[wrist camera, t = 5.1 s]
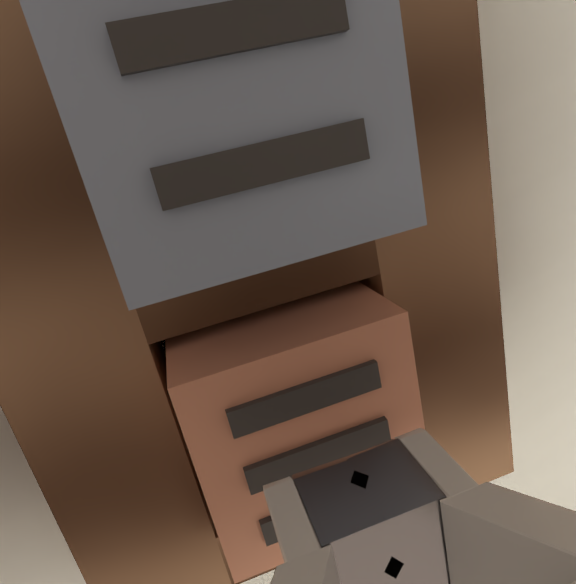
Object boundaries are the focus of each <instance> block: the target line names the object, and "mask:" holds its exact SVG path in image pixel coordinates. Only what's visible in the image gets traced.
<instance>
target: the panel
mask: <svg viewBox="0 0 576 584" xmlns="http://www.w3.org/2000/svg"><path fill="white" fill-rule="evenodd" d="M399 3H400V11H401V19H402V27H403V35H404V43H405V51H406V59H407V67H408V75H409V83H410V91H411V99H412V107H413V115H414V123H415V131H416V139H417V147H418V155H419V163H420V171H421V179H422V187H423V195H424V203H425V211H426V219H427V225H425V226H421V227H418V228H414V229H411V230H407V231H404V232H400V233H397V234H394V235H390V236H387V237H383V238H380V239H376V240H373V241H369V242H366V243H362V244H359V245H355V246H352V247H348V248H345V249H341V250H338V251H335V252H331V253H328V254H324V255H321V256H317V257H314V258H310V259H307V260H303V261H300V262H296V263H293V264H289V265H286V266H282V267H279V268H276V269H272V270H269V271H265V272H262V273H258V274H255V275H251V276H248V277H244V278H241V279H237V280H234V281H230V282H227V283H223V284H220V285H216V286H213V287H210V288H206V289H203V290H199V291H196V292H192V293H189V294H185V295H182V296H178V297H175V298H171V299H168V300H164V301H161V302H157V303H154V304H151V305H147V306H144V307H140V308H137V309H133V310H130V311H129V310H128V307H127V304H126V301H125V298H124V295H123V293H122V290H121V287H120V284H119V281H118V278H117V276H116V273H115V270H114V267H113V264H112V262H111V259H110V256H109V253H108V250H107V247H106V245H105V242H104V239H103V236H102V233H101V230H100V228H99V225H98V222H97V219H96V216H95V214H94V211H93V208H92V205H91V202H90V199H89V197H88V194H87V191H86V188H85V185H84V182H83V180H82V177H81V174H80V171H79V168H78V166H77V163H76V160H75V157H74V154H73V151H72V149H71V146H70V143H69V140H68V137H67V134H66V132H65V129H64V126H63V123H62V120H61V118H60V115H59V112H58V109H57V106H56V103H55V101H54V98H53V95H52V92H51V89H50V86H49V84H48V81H47V78H46V75H45V72H44V70H43V67H42V64H41V61H40V58H39V55H38V53H37V50H36V47H35V44H34V41H33V38H32V36H31V33H30V30H29V27H28V24H27V22H26V19H25V16H24V13H23V10H22V7H21V5H20V2H19V0H0V406H1V408H2V410H3V412H4V414H5V416H6V418H7V420H8V422H9V424H10V426H11V428H12V430H13V432H14V435H15V437H16V439H17V441H18V443H19V445H20V447H21V449H22V451H23V453H24V455H25V457H26V459H27V461H28V463H29V466H30V468H31V470H32V472H33V474H34V476H35V478H36V480H37V482H38V484H39V486H40V488H41V490H42V492H43V495H44V497H45V499H46V501H47V503H48V505H49V507H50V509H51V511H52V513H53V515H54V517H55V519H56V521H57V523H58V526H59V528H60V530H61V532H62V534H63V536H64V538H65V540H66V542H67V544H68V546H69V548H70V550H71V552H72V555H73V557H74V559H75V561H76V563H77V565H78V567H79V569H80V571H81V573H82V575H83V577H84V579H85V581H86V583H87V584H234V581H233V578H232V575H231V572H230V569H229V566H228V563H227V560H226V557H225V555H224V552H223V549H222V546H221V543H220V540H219V537H218V534H217V531H216V529H215V526H214V523H213V520H212V517H211V514H210V511H209V508H208V505H207V503H206V500H205V497H204V494H203V491H202V488H201V485H200V482H199V479H198V477H197V474H196V471H195V468H194V465H193V462H192V459H191V456H190V453H189V451H188V448H187V445H186V442H185V439H184V436H183V433H182V430H181V427H180V424H179V422H178V419H177V416H176V413H175V410H174V407H173V404H172V401H171V398H170V396H169V393H168V390H167V370H166V356H165V353H164V350H163V348H162V345H161V342H160V341H162V340H165V339H168V338H171V337H175V336H178V335H181V334H185V333H188V332H191V331H195V330H198V329H201V328H204V327H208V326H211V325H214V324H218V323H221V322H224V321H228V320H231V319H234V318H237V317H241V316H244V315H247V314H251V313H254V312H257V311H261V310H264V309H267V308H270V307H274V306H277V305H280V304H284V303H287V302H290V301H294V300H297V299H300V298H303V297H307V296H310V295H313V294H317V293H320V292H323V291H327V290H330V289H333V288H336V287H340V286H343V285H346V284H350V283H353V282H356V281H358V282H360V283H362V284H363V285H365V286H367V287H368V288H370V289H372V290H373V291H375V292H377V293H378V294H380V295H382V296H383V297H385V298H386V299H388V300H390V301H391V302H393V303H395V304H396V305H398V306H400V307H401V308H403V309H405V310H406V311H408V316H409V323H410V330H411V337H412V343H413V350H414V357H415V364H416V371H417V377H418V384H419V391H420V398H421V404H422V411H423V418H424V425H425V430H426V431H427V432H428V433H429V434H430V435H431V436H432V437H433V438H434V439H435V440H436V441H437V442H438V443H439V445H440V446H441V447H442V448H443V449H444V450H445V451H446V452H447V453H448V454H449V455H450V456H451V457H452V458H453V459H454V460H455V461H456V462H457V463H458V464H459V465H460V466H461V467H462V468H463V469H464V470H465V471H466V472H467V473H468V474H469V475H470V476H471V477H472V478H473V479H474V480H475V481H476V482H477V483H478V485H480V484H483V483H485V482H489V481H492V480H494V479H496V478H499V477H501V476H504V475H506V474H509V473H511V472H513V471H514V468H513V455H512V443H511V430H510V417H509V404H508V391H507V379H506V366H505V353H504V340H503V327H502V315H501V302H500V289H499V276H498V263H497V251H496V238H495V225H494V212H493V199H492V187H491V174H490V161H489V148H488V135H487V123H486V110H485V97H484V84H483V71H482V59H481V46H480V33H479V20H478V7H477V0H399ZM274 569H276V567H275V568H272V569H270V570H267V571H265V572H263V573H260V574H258V575H255V576H253V577H250V578H248V579H245V580H243V581H241V582H238V583H236V584H240V583H242V582H245V581H247V580H250V579H252V578H255V577H257V576H259V575H262V574H264V573H267V572H269V571H272V570H274Z"/></svg>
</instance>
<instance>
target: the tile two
mask: <svg viewBox="0 0 576 584" xmlns="http://www.w3.org/2000/svg"><path fill="white" fill-rule="evenodd" d="M19 2H20V5H21V7H22V10H23V13H24V16H25V19H26V22H27V24H28V27H29V30H30V33H31V36H32V38H33V41H34V44H35V47H36V50H37V53H38V55H39V58H40V61H41V64H42V67H43V70H44V72H45V75H46V78H47V81H48V84H49V86H50V89H51V92H52V95H53V98H54V101H55V103H56V106H57V109H58V112H59V115H60V118H61V120H62V123H63V126H64V129H65V132H66V134H67V137H68V140H69V143H70V146H71V149H72V151H73V154H74V157H75V160H76V163H77V166H78V168H79V171H80V174H81V177H82V180H83V182H84V185H85V188H86V191H87V194H88V197H89V199H90V202H91V205H92V208H93V211H94V214H95V216H96V219H97V222H98V225H99V228H100V230H101V233H102V236H103V239H104V242H105V245H106V247H107V250H108V253H109V256H110V259H111V262H112V264H113V267H114V270H115V273H116V276H117V278H118V281H119V284H120V287H121V290H122V293H123V295H124V298H125V301H126V304H127V307H128V310H129V311H130V310H133V309H137V308H140V307H144V306H147V305H151V304H154V303H157V302H161V301H164V300H168V299H171V298H175V297H178V296H182V295H185V294H189V293H192V292H196V291H199V290H203V289H206V288H210V287H213V286H216V285H220V284H223V283H227V282H230V281H234V280H237V279H241V278H244V277H248V276H251V275H255V274H258V273H262V272H265V271H269V270H272V269H276V268H279V267H282V266H286V265H289V264H293V263H296V262H300V261H303V260H307V259H310V258H314V257H317V256H321V255H324V254H328V253H331V252H335V251H338V250H341V249H345V248H348V247H352V246H355V245H359V244H362V243H366V242H369V241H373V240H376V239H380V238H383V237H387V236H390V235H394V234H397V233H400V232H404V231H407V230H411V229H414V228H418V227H421V226H425V225H427V219H426V211H425V203H424V195H423V187H422V179H421V171H420V163H419V155H418V147H417V139H416V131H415V123H414V115H413V107H412V99H411V91H410V83H409V75H408V67H407V59H406V51H405V43H404V35H403V27H402V19H401V11H400V3H399V0H19Z"/></svg>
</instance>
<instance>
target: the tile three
mask: <svg viewBox="0 0 576 584" xmlns="http://www.w3.org/2000/svg"><path fill="white" fill-rule="evenodd" d="M165 345H166V370H167V390H168V393H169V396H170V398H171V401H172V404H173V407H174V410H175V413H176V416H177V419H178V422H179V424H180V427H181V430H182V433H183V436H184V439H185V442H186V445H187V448H188V451H189V453H190V456H191V459H192V462H193V465H194V468H195V471H196V474H197V477H198V479H199V482H200V485H201V488H202V491H203V494H204V497H205V500H206V503H207V505H208V508H209V511H210V514H211V517H212V520H213V523H214V526H215V529H216V531H217V534H218V537H219V540H220V543H221V546H222V549H223V552H224V555H225V557H226V560H227V563H228V566H229V569H230V572H231V575H232V578H233V581H234V584H236V583H238V582H241V581H243V580H245V579H248V578H250V577H253V576H255V575H258V574H260V573H263V572H265V571H267V570H270V569H272V568H275V567H276V566H279V565H281V564H283V563H284V560H283V557H282V554H281V550H280V547H279V543H278V540H277V536H276V533H275V529H274V526H273V523H272V519H271V516H270V512H269V509H268V505H267V502H266V498H265V495H264V491H263V485H266V484H269V483H272V482H275V481H277V480H280V479H283V478H286V477H289V476H290V477H291V475H293V474H296V473H299V472H302V471H305V470H308V469H311V468H314V467H317V466H320V465H323V464H326V463H329V462H331V461H334V460H337V459H340V458H343V457H346V456H349V455H352V454H354V453H357V452H359V451H362V450H365V449H367V448H370V447H373V446H375V445H378V444H381V443H383V442H386V441H389V440H391V439H395V437H397V436H400V435H402V434H405V433H408V432H410V431H413V430H415V429H418V428H422V429H425V425H424V418H423V411H422V404H421V398H420V391H419V384H418V377H417V371H416V364H415V357H414V350H413V343H412V337H411V330H410V323H409V316H408V311H406V310H405V309H403V308H401V307H400V306H398V305H396V304H395V303H393V302H391V301H390V300H388V299H386V298H385V297H383V296H382V295H380V294H378V293H377V292H375V291H373V290H372V289H370V288H368V287H367V286H365V285H363V284H362V283H360V282H358V281H356V282H353V283H350V284H346V285H343V286H340V287H336V288H333V289H330V290H327V291H323V292H320V293H317V294H313V295H310V296H307V297H303V298H300V299H297V300H294V301H290V302H287V303H284V304H280V305H277V306H274V307H270V308H267V309H264V310H261V311H257V312H254V313H251V314H247V315H244V316H241V317H237V318H234V319H231V320H228V321H224V322H221V323H218V324H214V325H211V326H208V327H204V328H201V329H198V330H195V331H191V332H188V333H185V334H181V335H178V336H175V337H171V338H168V339H165Z"/></svg>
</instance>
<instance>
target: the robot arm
mask: <svg viewBox="0 0 576 584" xmlns="http://www.w3.org/2000/svg"><path fill="white" fill-rule="evenodd" d="M263 491H264V495H265V498H266V502H267V505H268V509H269V512H270V516H271V519H272V523H273V526H274V529H275V533H276V536H277V540H278V543H279V547H280V550H281V554H282V557H283V560H284V563H283V564H281V565H279V566H276V569H275V572H274V575H273V578H272V581H271V584H576V511H573V510H570V509H567V508H564V507H561V506H558V505H555V504H552V503H549V502H546V501H543V500H540V499H537V498H534V497H531V496H528V495H525V494H522V493H519V492H516V491H513V490H510V489H507V488H504V487H501V486H498V485H495V484H492V483H489V482H485V483H483V484H480V485H478V483H477V482H476V481H475V480H474V479H473V478H472V477H471V476H470V475H469V474H468V473H467V472H466V471H465V470H464V469H463V468H462V467H461V466H460V465H459V464H458V463H457V462H456V461H455V460H454V459H453V458H452V457H451V456H450V455H449V454H448V453H447V452H446V451H445V450H444V449H443V448H442V447H441V446H440V445H439V443H438V442H437V441H436V440H435V439H434V438H433V437H432V436H431V435H430V434H429V433H428V432H427V431H426V430H425V429H422V428H418V429H415V430H413V431H410V432H408V433H405V434H402V435H400V436H397V437H395V439H391V440H389V441H386V442H383V443H381V444H378V445H375V446H373V447H370V448H367V449H365V450H362V451H359V452H357V453H354V454H352V455H349V456H346V457H343V458H340V459H337V460H334V461H331V462H329V463H326V464H323V465H320V466H317V467H314V468H311V469H308V470H305V471H302V472H299V473H296V474H293V475H291V477H290V476H289V477H286V478H283V479H280V480H277V481H275V482H272V483H269V484H266V485H263Z"/></svg>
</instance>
